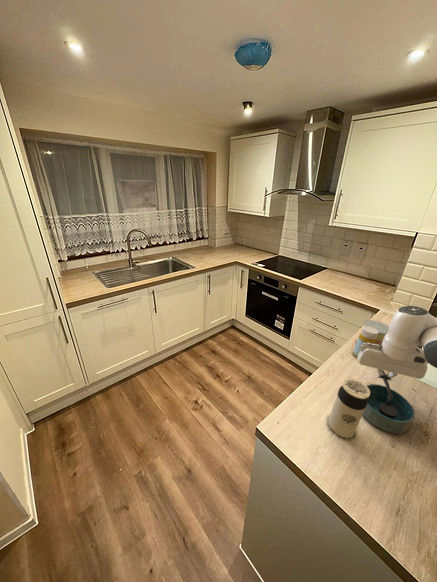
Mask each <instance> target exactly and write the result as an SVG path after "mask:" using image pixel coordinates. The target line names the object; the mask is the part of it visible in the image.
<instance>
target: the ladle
mask: <svg viewBox="0 0 437 582" xmlns="http://www.w3.org/2000/svg"><path fill="white" fill-rule="evenodd" d="M380 372H383V375H384V377H383V379H382V380H383V383H384V386H385V387H386V389H387V392H388V395H389V397H388V399H387V401H386V403H381V404H380V406H379V409H378V410H379V413H380V414H382V415H384V416H386V417H388V418H390V419H395V418H396V416H397V410H396V409H395V408H394V407H393V406H392V405H390V402H391V399H392V398H393V395H392V392H391V389H392V388H391V386H390V384H389V380H387V378H386V371H385V370H382V371H380Z"/></svg>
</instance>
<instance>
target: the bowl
mask: <svg viewBox="0 0 437 582" xmlns="http://www.w3.org/2000/svg"><path fill="white" fill-rule="evenodd" d="M365 385H366V384H365ZM366 386H367V387H368V388H369V390H370V396H369V397H368V403H367V406H366V408H365V410H364V412H363V415H362V417H364V418H365V419H366V420H367V421H368V422H369V423H370V424H372V425H373V426H375V427H376V428H378V429H380V430H381V431H385V432H387V433H391V434H402V433H405V432H406V431H407V430H408V429H409V427H410V425H412V423H413V421H414V419H415V414H416V413H415V410H414V407H413V405H412V404H411V403H410V402H409V400H408V399H406V398H405V397H404V396H403V395H402V394H400V393H399V392H397V391H396V390H394V389H392V388H390V389H391V392H392V395H393V398H392V399H391V402H390V405H392V406H393V407H394V408H395V409H396V410H397V416H396V418H395V419H390V418H388V417H386V416H384V415H382V414H380V413H379V410H378V409H379V406H380V404H381V403H386V401H387V399H388V397H389V395H388V392H387V389H386V386H385V385H381V384H373V383H371V384H367V385H366Z"/></svg>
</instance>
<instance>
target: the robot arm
mask: <svg viewBox="0 0 437 582" xmlns="http://www.w3.org/2000/svg"><path fill="white" fill-rule="evenodd" d="M388 326H389V327H388V333H387V334H386V335H385V337H384V339H383V342H382V344H381V345H378V344H372V343H364V344H362V346H361V348H360V352H359V354H358V356H357V357H356V358H357V362H358V364H359V365H361V366H365V367H370V368H373V369H376V370H377V374H376V376H377V378H378V379H380V380H381V379H382V380H383V377H384V375H383V372H381V371H382V370H383V371H384V372H385V375H386V378H387V380H388V382H389V381H392V379H393V378H395V377H397V376H398V375H401V376H406V377H410V378H414V379H418V380H421V379H423V378H425V376H426V374H427V371H428V364H429V365H430V366H432V367H434V368H435V369H437V317H435V316H434V315H432V314H431V313H430V312H429V311H428V310H427V309H425V308H423V307H421V306H416V305H403V306H401V307H399V308H398V309H397V310H396V311H395V313H394V314H393V316H392V318H391V320H390V322H389V324H388ZM387 372H389V373H387Z"/></svg>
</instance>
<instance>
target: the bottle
mask: <svg viewBox="0 0 437 582" xmlns="http://www.w3.org/2000/svg"><path fill="white" fill-rule="evenodd" d="M362 328H363V329H362ZM362 328H361V331H362V332H361V331H360V333H359V335H358V337H357V340H356V343H355V346H354V348H353V351H352V353H353V355H354V357H355V358H357V356H358V354H359V352H360V348H361V346H362V344H364V343H372V344H376V341H377V339H376V338H377V336H378V333H379V331H378V330H377V329H376V328H374V327H371V326H364V327H363V326H362Z"/></svg>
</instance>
